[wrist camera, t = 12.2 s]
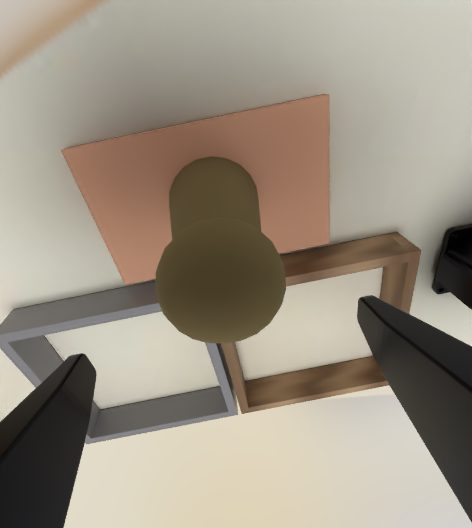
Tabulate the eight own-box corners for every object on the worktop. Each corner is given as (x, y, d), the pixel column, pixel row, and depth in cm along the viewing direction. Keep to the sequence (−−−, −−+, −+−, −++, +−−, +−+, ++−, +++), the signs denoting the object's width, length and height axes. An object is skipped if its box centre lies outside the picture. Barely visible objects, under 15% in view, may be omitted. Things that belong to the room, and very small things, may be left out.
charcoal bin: (201, 271, 23) (200, 294, 21) (235, 388, 32) (237, 414, 29) (12, 309, 24) (-10, 336, 21) (95, 415, 32) (86, 444, 29)
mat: (324, 94, 18) (328, 94, 17) (325, 238, 23) (329, 243, 22) (66, 148, 18) (61, 150, 17) (127, 278, 23) (125, 284, 22)
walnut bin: (397, 232, 23) (421, 250, 21) (379, 359, 32) (395, 383, 29) (206, 270, 23) (206, 293, 21) (238, 387, 32) (241, 413, 29)
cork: (178, 144, 18) (149, 212, 8) (271, 171, 19) (336, 256, 10) (161, 232, 20) (127, 357, 11) (243, 250, 22) (272, 374, 12)
